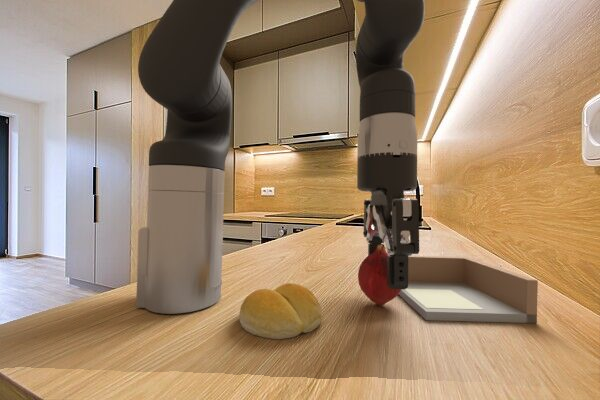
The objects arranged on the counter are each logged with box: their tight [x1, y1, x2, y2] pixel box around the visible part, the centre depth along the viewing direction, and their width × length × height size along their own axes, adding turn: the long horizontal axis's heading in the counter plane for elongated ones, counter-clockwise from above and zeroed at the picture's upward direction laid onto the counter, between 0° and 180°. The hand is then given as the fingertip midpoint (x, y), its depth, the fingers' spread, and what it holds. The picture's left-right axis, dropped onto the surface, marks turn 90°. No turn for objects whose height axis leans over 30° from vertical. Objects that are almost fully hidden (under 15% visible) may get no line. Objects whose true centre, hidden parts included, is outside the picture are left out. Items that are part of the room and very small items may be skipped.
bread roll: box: [238, 282, 323, 340], centre depth 29 cm, size 8×9×4 cm
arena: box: [398, 255, 539, 324], centre depth 37 cm, size 13×13×5 cm
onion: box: [357, 245, 401, 306], centre depth 35 cm, size 6×6×8 cm
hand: (385, 277), depth 35 cm, fingers open, 8 cm apart
